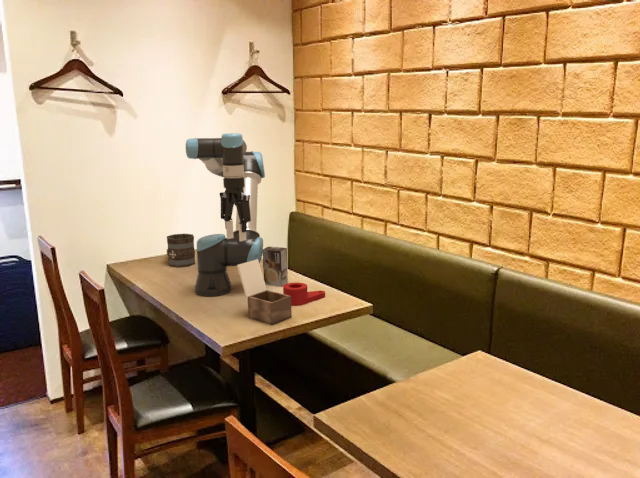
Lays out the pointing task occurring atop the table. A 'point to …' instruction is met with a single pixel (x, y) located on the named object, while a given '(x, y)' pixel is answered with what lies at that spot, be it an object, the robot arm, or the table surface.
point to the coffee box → (275, 266)
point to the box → (269, 307)
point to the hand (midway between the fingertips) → (236, 239)
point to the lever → (301, 293)
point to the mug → (181, 250)
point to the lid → (251, 277)
